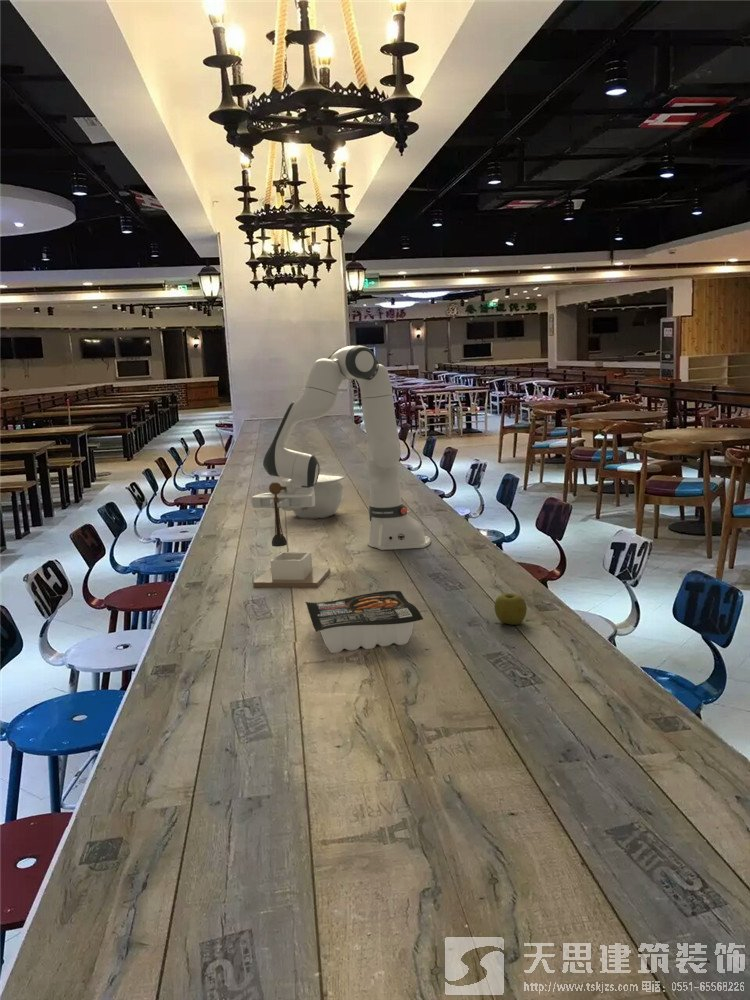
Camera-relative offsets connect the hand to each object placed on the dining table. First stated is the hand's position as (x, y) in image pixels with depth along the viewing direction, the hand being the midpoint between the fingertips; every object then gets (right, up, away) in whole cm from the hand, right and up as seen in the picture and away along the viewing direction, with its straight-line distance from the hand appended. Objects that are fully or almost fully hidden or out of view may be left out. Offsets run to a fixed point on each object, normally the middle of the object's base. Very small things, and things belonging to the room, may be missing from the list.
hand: (275, 505), depth 241 cm
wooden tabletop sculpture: (+1, -13, +3) cm, 13 cm away
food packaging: (+28, -32, -51) cm, 67 cm away
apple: (+64, -29, -48) cm, 86 cm away
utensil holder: (+5, -23, -1) cm, 24 cm away
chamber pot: (+5, -5, +94) cm, 95 cm away
